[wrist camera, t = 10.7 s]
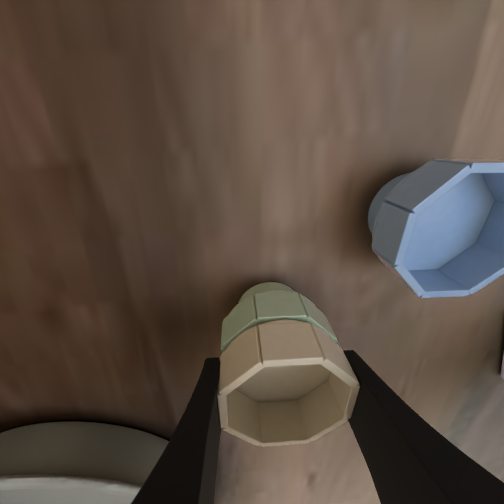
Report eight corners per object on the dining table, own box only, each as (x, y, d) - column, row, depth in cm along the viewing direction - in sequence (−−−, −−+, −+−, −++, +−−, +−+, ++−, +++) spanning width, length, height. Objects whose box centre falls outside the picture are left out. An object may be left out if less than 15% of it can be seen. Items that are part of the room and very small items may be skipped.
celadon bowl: (316, 268, 14) (344, 313, 10) (307, 338, 16) (327, 394, 13) (222, 271, 14) (217, 319, 10) (227, 342, 16) (224, 400, 12)
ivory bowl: (329, 290, 12) (370, 354, 8) (317, 365, 14) (344, 440, 11) (220, 294, 12) (213, 363, 8) (225, 370, 14) (222, 450, 10)
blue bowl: (473, 154, 12) (579, 161, 8) (435, 255, 14) (504, 295, 10) (364, 155, 11) (424, 163, 8) (344, 257, 14) (383, 300, 10)
